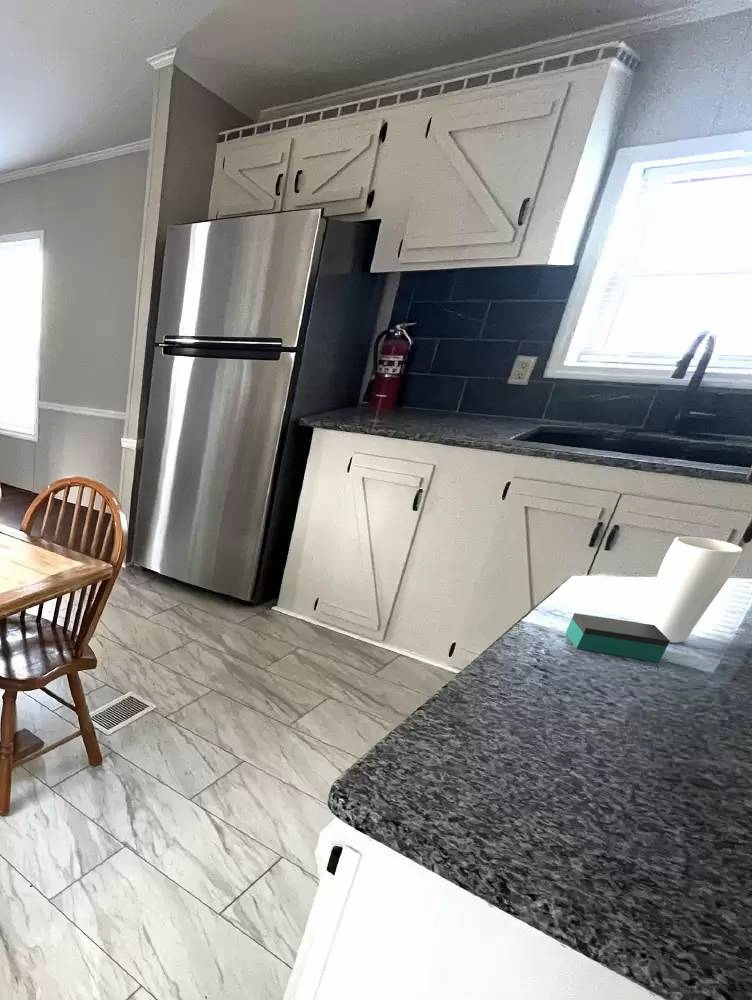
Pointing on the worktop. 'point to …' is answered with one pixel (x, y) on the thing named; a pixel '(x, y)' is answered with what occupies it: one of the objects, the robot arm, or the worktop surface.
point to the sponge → (617, 637)
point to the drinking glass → (689, 584)
